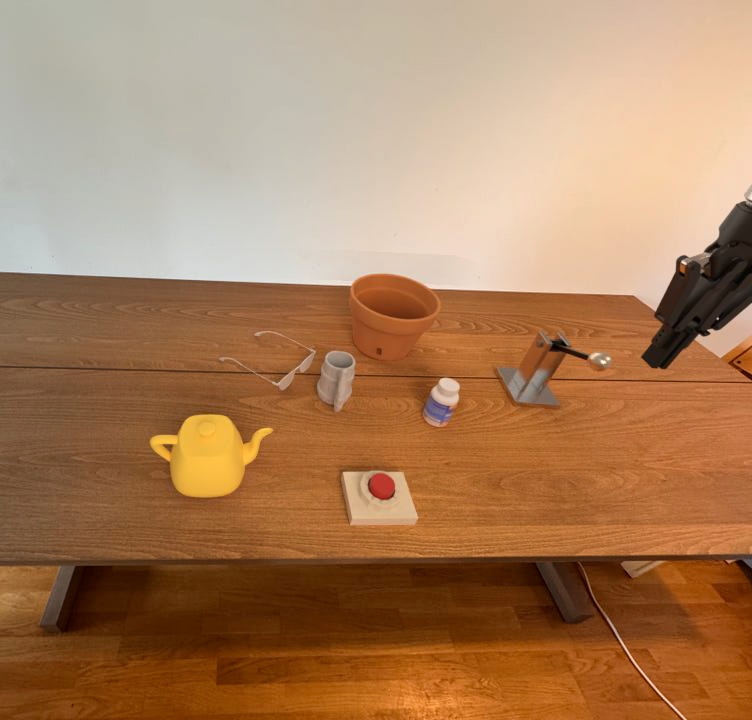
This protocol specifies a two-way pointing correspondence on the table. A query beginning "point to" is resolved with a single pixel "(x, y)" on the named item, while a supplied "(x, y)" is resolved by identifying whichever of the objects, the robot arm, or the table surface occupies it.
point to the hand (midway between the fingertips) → (653, 362)
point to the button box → (377, 501)
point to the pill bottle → (441, 402)
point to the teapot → (208, 455)
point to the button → (381, 486)
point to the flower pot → (390, 314)
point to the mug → (336, 378)
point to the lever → (585, 356)
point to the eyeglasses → (289, 377)
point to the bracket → (534, 374)
